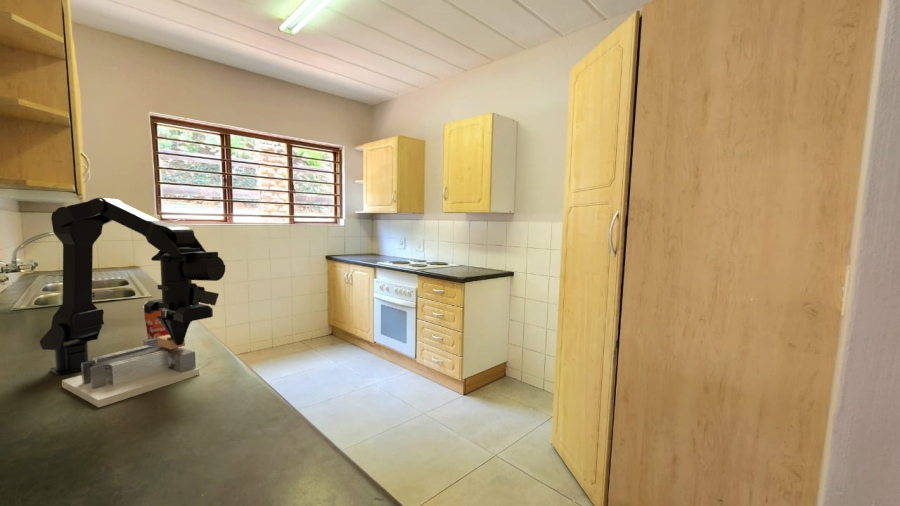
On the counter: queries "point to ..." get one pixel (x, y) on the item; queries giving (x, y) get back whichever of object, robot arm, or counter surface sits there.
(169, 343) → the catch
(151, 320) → the paper cup
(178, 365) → the grey piece
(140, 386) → the board
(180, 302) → the robot arm
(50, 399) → the counter surface
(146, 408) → the counter surface
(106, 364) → the grey lever
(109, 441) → the counter surface
